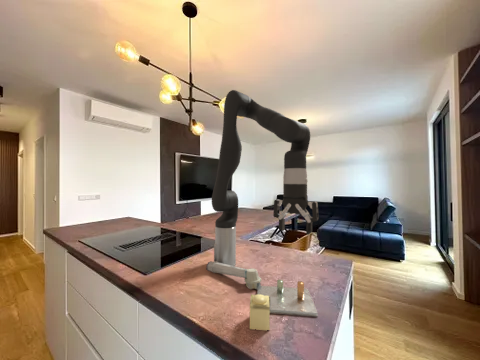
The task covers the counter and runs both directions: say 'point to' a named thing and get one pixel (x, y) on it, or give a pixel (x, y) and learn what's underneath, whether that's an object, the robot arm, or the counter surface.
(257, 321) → the cube with dome bump
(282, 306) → the plate
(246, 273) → the white handheld device
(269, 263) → the counter surface
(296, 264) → the counter surface
